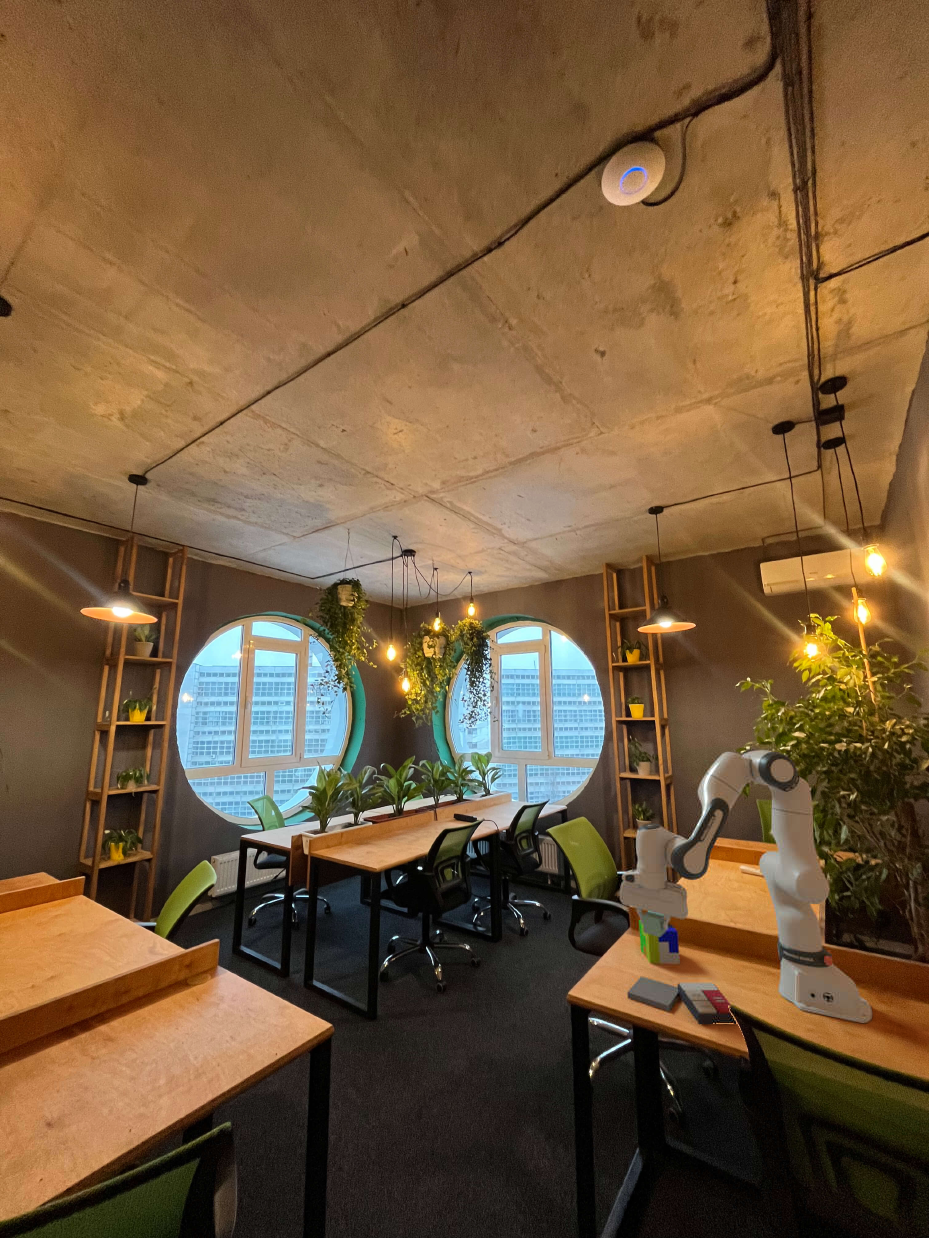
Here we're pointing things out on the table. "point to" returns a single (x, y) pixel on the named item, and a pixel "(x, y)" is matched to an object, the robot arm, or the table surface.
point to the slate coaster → (654, 993)
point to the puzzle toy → (660, 946)
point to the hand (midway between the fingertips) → (654, 926)
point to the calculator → (705, 1003)
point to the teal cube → (653, 923)
